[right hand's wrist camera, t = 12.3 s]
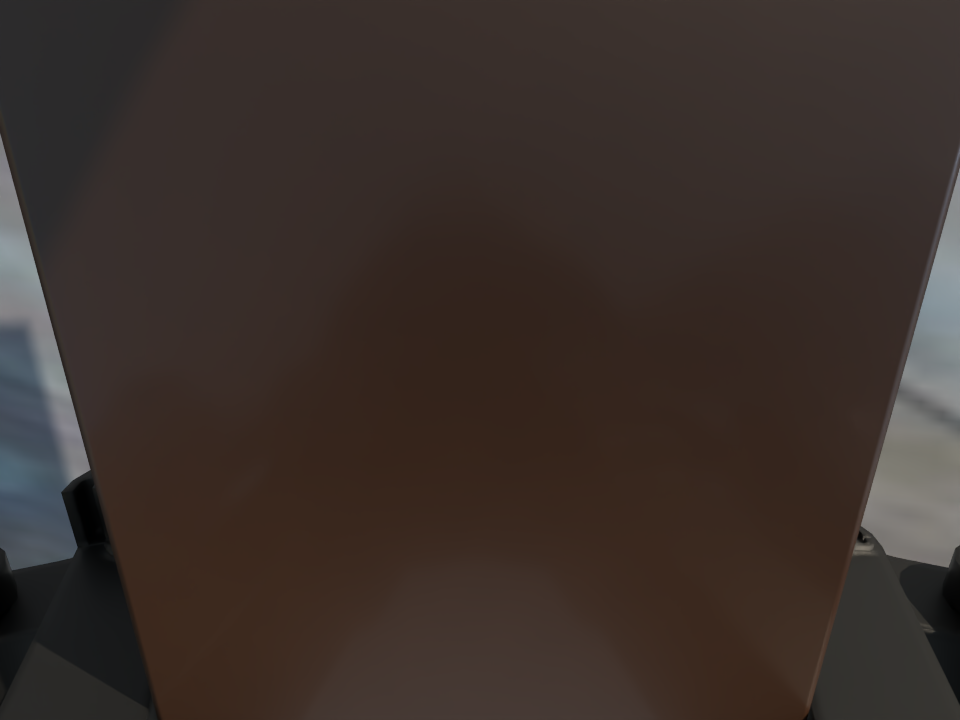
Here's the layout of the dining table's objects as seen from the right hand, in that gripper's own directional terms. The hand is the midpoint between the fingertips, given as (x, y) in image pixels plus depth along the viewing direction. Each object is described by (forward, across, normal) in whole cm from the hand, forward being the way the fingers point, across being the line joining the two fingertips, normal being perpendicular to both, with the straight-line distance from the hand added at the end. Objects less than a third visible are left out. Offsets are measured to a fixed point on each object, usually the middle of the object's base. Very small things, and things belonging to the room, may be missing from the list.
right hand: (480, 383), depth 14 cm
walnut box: (+1, 0, -11) cm, 11 cm away
